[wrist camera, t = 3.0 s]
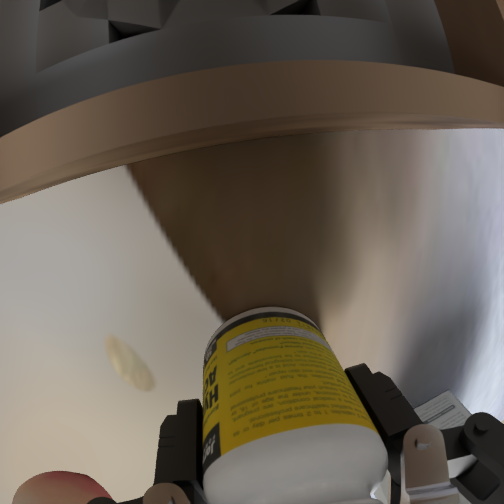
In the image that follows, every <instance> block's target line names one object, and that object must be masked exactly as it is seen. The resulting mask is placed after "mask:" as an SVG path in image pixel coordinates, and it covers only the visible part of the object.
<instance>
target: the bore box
mask: <svg viewBox="0 0 504 504" xmlns="http://www.w3.org/2000/svg"><path fill="white" fill-rule="evenodd" d="M461 128H502V129H504V0H0V204H1V203H5V202H8V201H12V200H15V199H19V198H22V197H24V196H27V195H30V194H32V193H35V192H38V191H41V190H43V189H46V188H49V187H52V186H55V185H58V184H61V183H64V182H67V181H70V180H73V179H76V178H80V177H83V176H86V175H90V174H93V173H97V172H100V171H103V170H107V169H111V168H114V167H118V166H122V165H126V164H130V163H134V162H138V161H142V160H146V159H150V158H155V157H159V156H163V155H168V154H173V153H177V152H182V151H187V150H192V149H198V148H203V147H209V146H214V145H220V144H226V143H232V142H239V141H246V140H253V139H260V138H268V137H276V136H285V135H295V134H305V133H316V132H330V131H346V130H369V129H461Z"/></svg>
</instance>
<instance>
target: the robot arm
mask: <svg viewBox="0 0 504 504" xmlns="http://www.w3.org/2000/svg"><path fill="white" fill-rule="evenodd" d="M344 372H345V374H346V376H347V377H348V379H349V381H350V383H351V385H352V386H353V388H354V390H355V392H356V394H357V395H358V397H359V399H360V401H361V403H362V404H363V406H364V408H365V410H366V411H367V413H368V415H369V417H370V419H371V420H372V422H373V424H374V426H375V428H376V429H377V431H378V433H379V435H380V437H381V439H382V441H383V443H384V446H385V448H386V451H387V454H388V468H387V469H388V471H389V473H390V475H389V480H388V504H460V499H459V492H460V493H461V494H462V495H463V496H464V497H465V498H466V499H467V500H468V501H469V502H470V503H471V504H504V424H503V423H501V422H500V421H499V420H497V419H496V418H495V417H493V416H492V415H490V414H488V413H484V412H479V413H475V414H473V415H471V416H470V417H468V418H467V420H466V421H465V423H464V425H462V426H458V427H453V428H448V429H438V428H437V427H435V426H433V425H429V424H424V423H423V422H422V420H421V419H420V418H419V416H418V415H417V414H416V412H415V411H414V409H413V408H412V407H411V405H410V404H409V403H408V401H407V400H406V399H405V397H404V396H402V393H401V392H400V390H399V389H397V386H396V385H395V384H394V382H393V381H392V380H391V378H389V377H388V376H386V375H384V374H383V373H381V372H377V373H374V374H372V372H371V371H370V369H369V368H368V367H367V365H366V364H365V363H362V364H359V365H356V366H352V367H349V368H346V369H345V371H344ZM202 435H203V408H202V405H201V403H200V400H199V399H192V400H182V401H179V402H178V407H177V415H168V416H167V417H166V418H165V420H164V422H163V423H162V425H161V427H160V435H159V438H160V439H159V443H158V447H159V448H158V452H157V460H156V469H155V479H154V484H153V486H152V487H150V488H149V489H148V490H147V491H146V493H145V494H144V496H142V497H140V498H137V499H134V500H130V501H125V502H120V503H116V502H115V501H114V500H112V499H111V498H108V497H96V498H94V499H92V500H90V501H89V502H88V503H87V504H207V503H206V500H205V497H204V490H203V483H202V451H203V450H202ZM458 491H459V492H458Z"/></svg>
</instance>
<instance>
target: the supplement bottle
mask: <svg viewBox="0 0 504 504" xmlns="http://www.w3.org/2000/svg"><path fill="white" fill-rule="evenodd" d="M202 450H203V451H202V483H203V490H204V497H205V500H206V503H207V504H383V502H382V501H380V500H377V499H373V498H371V495H372V494H373V493H374V492H375V491H376V490H377V488H378V487H379V486H380V484H381V483H382V481H383V479H384V477H385V475H386V472H387V468H388V454H387V451H386V448H385V446H384V443H383V441H382V439H381V437H380V435H379V433H378V431H377V429H376V428H375V426H374V424H373V422H372V420H371V419H370V417H369V415H368V413H367V411H366V410H365V408H364V406H363V404H362V403H361V401H360V399H359V397H358V395H357V394H356V392H355V390H354V388H353V386H352V385H351V383H350V381H349V379H348V377H347V376H346V374H345V372H344V371H343V369H342V367H341V365H340V363H339V362H338V360H337V358H336V356H335V354H334V353H333V351H332V349H331V347H330V346H329V344H328V342H327V341H326V339H325V337H324V335H323V334H322V333H321V331H320V329H319V328H318V327H317V326H316V325H315V323H314V322H313V321H312V320H310V319H309V318H308V317H306V316H305V315H303V314H301V313H299V312H297V311H294V310H291V309H287V308H281V307H262V308H257V309H252V310H249V311H246V312H243V313H241V314H239V315H236V316H234V317H233V318H231V319H229V320H228V321H226V322H225V323H224V324H222V325H221V326H220V327H219V328H218V329H217V331H216V332H215V333H214V334H213V336H212V337H211V339H210V341H209V343H208V345H207V348H206V351H205V356H204V367H203V435H202Z"/></svg>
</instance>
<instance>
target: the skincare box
mask: <svg viewBox="0 0 504 504" xmlns="http://www.w3.org/2000/svg"><path fill="white" fill-rule="evenodd" d="M414 411H415V412H416V414H417V415H418V416H419V418H420V419H421V420H422V422H423V423H424V424H429V425H433V426H435V427H437V428H438V429H448V428H453V427H458V426H462V425H464V423H465V421H466V420H467V418H468V417H470V416H471V415H472V414H471V413H470V412H469V411H468V410H467V409H466V408H465V406H464V405H463V404H462V403H461V402H460V401H459V400H458V399H457V398H456V397H455V396H454V394H453V393H452V392H451V391H450V390H448V391H446V392H444V393H442V394H440V395H438V396H437V397H435V398H433V399H432V400H430V401H428V402H426V403H424V404H423V405H421V406H419V407H416V408H415V409H414ZM389 475H390V473H389V471H388V469H387V472H386V475H385V477H384V479H383V481H382V483H381V484H380V486H379V487H378V488H377V490H376V491H375V492H374V495H375V497H376V498H377V500H380V501H382V502H383V504H388V480H389ZM458 492H459V491H458ZM459 499H460V504H471V503H470V502H469V501H468V500H467V499H466V498H465V497H464V496H463V495H462V494H461V493H460V492H459Z"/></svg>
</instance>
